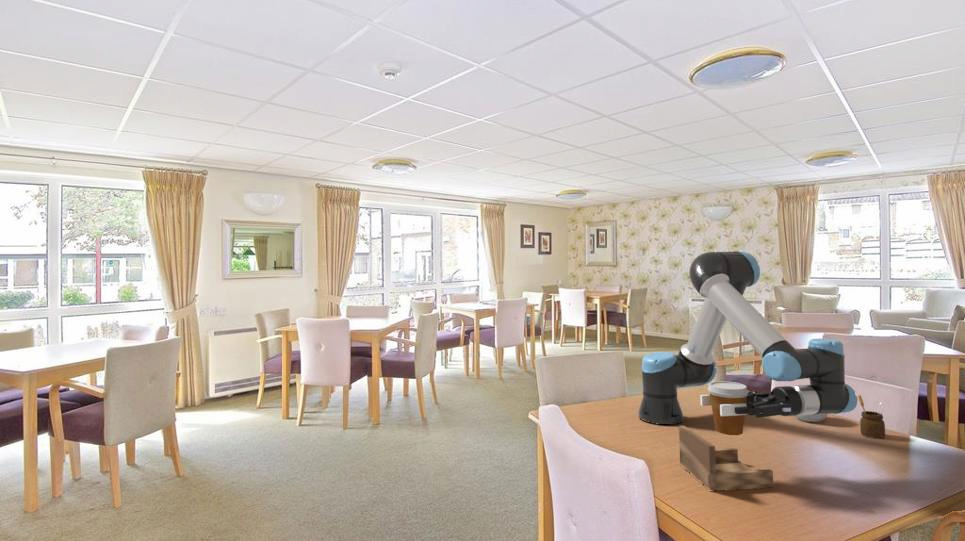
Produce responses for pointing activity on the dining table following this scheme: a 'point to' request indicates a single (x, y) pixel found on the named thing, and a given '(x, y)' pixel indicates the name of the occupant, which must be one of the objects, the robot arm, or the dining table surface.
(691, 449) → the cradle
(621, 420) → the dining table surface
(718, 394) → the disposable coffee cup
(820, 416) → the teacup
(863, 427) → the utensil holder
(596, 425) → the dining table surface
